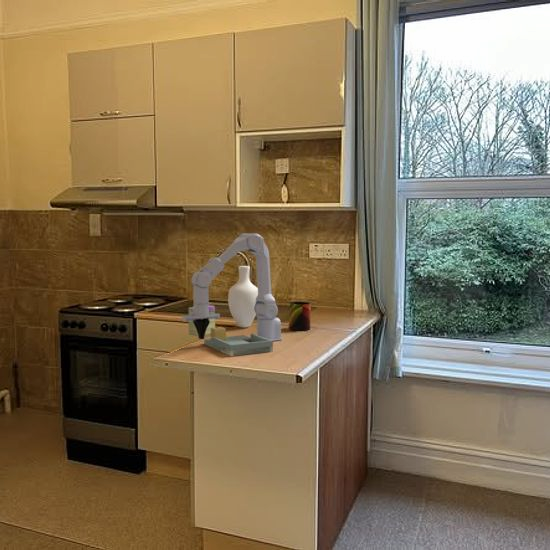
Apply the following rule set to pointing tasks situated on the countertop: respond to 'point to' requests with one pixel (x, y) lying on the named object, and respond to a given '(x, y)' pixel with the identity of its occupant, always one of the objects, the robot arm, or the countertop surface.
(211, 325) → the box
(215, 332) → the ochre block
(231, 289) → the vase
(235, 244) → the robot arm
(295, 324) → the mug
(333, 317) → the countertop surface
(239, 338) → the trap tray
